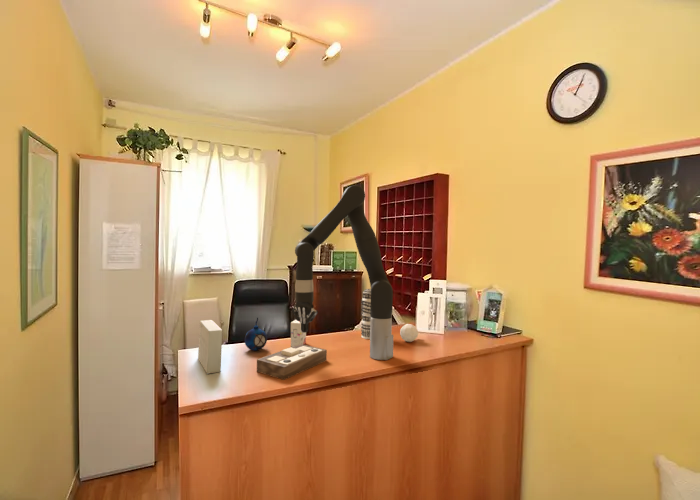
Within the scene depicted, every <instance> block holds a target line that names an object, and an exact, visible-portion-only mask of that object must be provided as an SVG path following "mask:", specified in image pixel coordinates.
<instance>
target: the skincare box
mask: <svg viewBox="0 0 700 500" xmlns="http://www.w3.org/2000/svg"><path fill="white" fill-rule="evenodd" d="M222 345H223V329H222V328H221V327H220V326H219V325H218V324H217V323H216V322H215V321H214V320H212V319H205V320H199V334H198V352H197V353H198V354H197V359H198V360H199V362H200V364H201V366H202V368H203V369H204V372H205V373H206V374H209V375H210V374H216V373H220V372H221V371H222Z"/></svg>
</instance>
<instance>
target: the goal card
mask: <svg viewBox="0 0 700 500" xmlns="http://www.w3.org/2000/svg"><path fill="white" fill-rule="evenodd" d="M316 348H317V347H316ZM316 348H313V349H311V350H308V351H305V352H303V353H300V354H298V355H295V356H292V357H290V358H287V359H285V360H282V361H279V362H278V363H280V364H284V365H289V364H291V363H294V362H296V361H299V360H301V359H303V358H306V357H308V356H311V355H313V354H316V353H318V352H321V351H323V350H320V349H316Z"/></svg>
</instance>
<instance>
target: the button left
mask: <svg viewBox="0 0 700 500" xmlns="http://www.w3.org/2000/svg"><path fill="white" fill-rule="evenodd" d="M285 359H286V358H283V357H280V356H274V357H271V358H268V359H266V360H268V361H271V362H275V363H277V362H279V361H282V360H285Z"/></svg>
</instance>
